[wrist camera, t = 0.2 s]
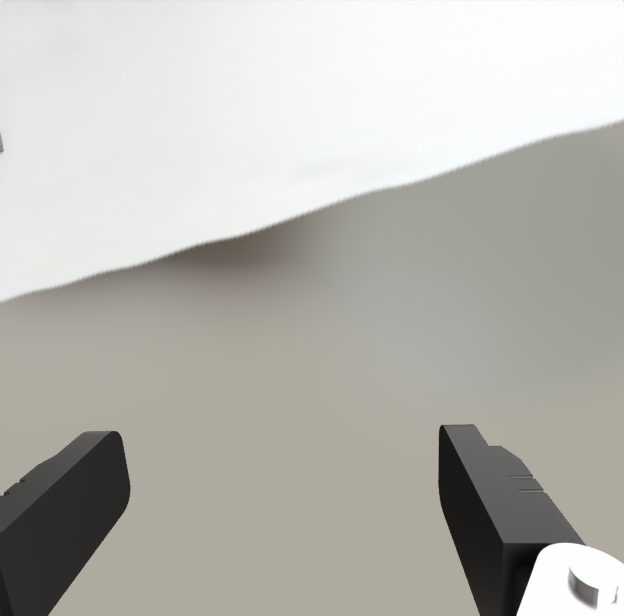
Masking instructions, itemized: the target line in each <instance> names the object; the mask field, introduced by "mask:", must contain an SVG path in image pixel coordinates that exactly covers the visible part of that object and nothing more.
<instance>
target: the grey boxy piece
mask: <svg viewBox="0 0 624 616" xmlns="http://www.w3.org/2000/svg"><path fill="white" fill-rule="evenodd" d="M0 151H3V146H2V141H1V136H0Z"/></svg>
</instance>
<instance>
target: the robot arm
mask: <svg viewBox="0 0 624 616" xmlns="http://www.w3.org/2000/svg"><path fill="white" fill-rule="evenodd" d="M438 478H439V480H438V484H439V495H440V502H441V506H442V510H443V513H444V516H445V519H446V522H447V525H448V527H449V530H450V533H451V536H452V539H453V541H454V544H455V547H456V550H457V553H458V555H459V558H460V561H461V564H462V566H463V569H464V572H465V575H466V578H467V580H468V583H469V586H470V589H471V592H472V594H473V597H474V600H475V603H476V605H477V608H478V611H479V614H480V616H624V564H623V563H621V562H620V561H618V560H617V559H615V558H613V557H612V556H610V555H608V554H606V553H604V552H601V551H599V550H597V549H594V548H591V547H588V546H586V545H585V544H584V542H583V541H582V540H581V538H580V537H579V536H578V534H577V533H576V532H575V531H574V529H573V528H572V526H571V525H570V524H569V522H568V521H567V520H566V519H565V517H564V516H563V515H562V513H561V512H560V511H559V509H558V508H557V507H556V506H555V504H554V503H553V501H552V500H551V499H550V498H549V496H548V495H547V494H546V493H544V491H543V488H542V487H541V486H540V484H539V483H538V482H537V480H536V479H533V475H532V474H531V473H530V471H529V470H528V469H527V467H526V466H525V465H524V463H523V462H522V461H521V460H520V459H519V458H517V457H516V456H515V455H513V454H512V453H510V452H509V451H508V450H506V449H504V448H503V447H502V446H488V444H487V443H486V441H485V440H484V439H483V437H482V435H481V434H480V432H479V431H478V429H477V428H476V427H475V425H473V424H470V425H441V427H440V430H439V477H438ZM129 497H130V481H129V475H128V469H127V464H126V458H125V453H124V447H123V441H122V438H121V436H120V434H119V433H118V432H116V431H91V432H84V433H82V434H81V435H80V436H78V437H77V438H76V439H75V440H74V441H72V442H71V443H70V444H69V445H67V446H66V447H65V448H64V449H63V450H62V451H60V452H59V453H58V454H57V455H55V456H54V457H52V458H50V459H48V460H46V461H44V462H43V463H41V464H39V465H37V466H36V467H35V468H34V469H32V470H31V471H30V472H29V473H27V474H26V475H25V476H24V477H23V478H21V479H20V482H19V483H15V484H14V485H13V486H11V487H10V488H9V489H8V490H7V491H6V492H4V495H3V496H0V616H48V615H49V613H50V612H51V611H52V609H53V608H54V606H55V605H56V604H57V602H58V601H59V600H60V598H61V597H62V595H63V594H64V593H65V592H66V590H67V589H68V587H69V586H70V585H71V583H72V582H73V581H74V579H75V578H76V577H77V575H78V574H79V573H80V571H81V570H82V568H83V567H84V566H85V564H86V563H87V561H88V560H89V559H90V558H91V556H92V555H93V553H94V552H95V550H96V549H97V548H98V547H99V545H100V544H101V543H102V541H103V540H104V538H105V537H106V536H107V534H108V533H109V532H110V530H111V529H112V528H113V526H114V525H115V524H116V522H117V521H118V519H119V518H120V517H121V515H122V514H123V513H124V511H125V509H126V507H127V504H128V501H129Z"/></svg>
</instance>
